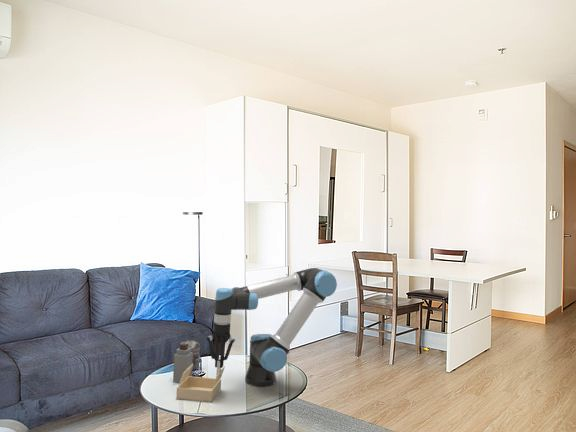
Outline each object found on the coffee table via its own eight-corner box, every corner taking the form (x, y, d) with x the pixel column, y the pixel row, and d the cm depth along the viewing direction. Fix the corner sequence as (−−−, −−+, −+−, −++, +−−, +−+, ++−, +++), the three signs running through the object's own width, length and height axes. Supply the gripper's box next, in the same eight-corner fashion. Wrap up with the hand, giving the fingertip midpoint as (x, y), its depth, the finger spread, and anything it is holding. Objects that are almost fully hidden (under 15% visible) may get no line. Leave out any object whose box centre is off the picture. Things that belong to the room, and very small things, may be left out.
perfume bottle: (186, 384, 228) (187, 346, 227) (173, 382, 229) (174, 345, 229) (191, 379, 234) (193, 343, 234) (178, 377, 236) (180, 341, 235)
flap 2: (220, 377, 221) (220, 378, 221) (212, 388, 208) (212, 388, 208) (224, 366, 221) (225, 366, 221) (216, 375, 208) (217, 375, 208)
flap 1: (193, 363, 223) (192, 363, 223) (183, 373, 210) (183, 372, 210) (188, 375, 223) (188, 375, 223) (178, 385, 210) (178, 385, 210)
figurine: (189, 374, 242) (191, 344, 241) (173, 369, 247) (174, 340, 247) (202, 368, 250) (204, 340, 250) (186, 364, 256) (187, 336, 256)
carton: (220, 389, 222) (221, 379, 222) (211, 402, 208) (211, 391, 207) (187, 386, 224) (188, 376, 224) (176, 399, 210) (176, 387, 210)
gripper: (237, 322, 217) (234, 373, 218) (211, 319, 219) (207, 370, 219) (233, 326, 210) (229, 379, 210) (206, 323, 212) (202, 375, 212)
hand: (218, 374), depth 215 cm, fingers closed
